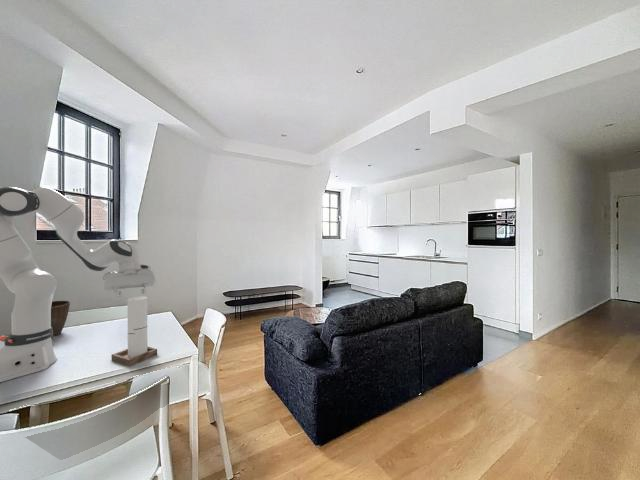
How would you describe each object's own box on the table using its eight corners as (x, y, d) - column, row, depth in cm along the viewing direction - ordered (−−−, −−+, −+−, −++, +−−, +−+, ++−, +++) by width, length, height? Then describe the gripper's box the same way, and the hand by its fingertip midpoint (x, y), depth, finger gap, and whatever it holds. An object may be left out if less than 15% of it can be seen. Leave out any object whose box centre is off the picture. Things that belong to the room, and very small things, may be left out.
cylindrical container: (146, 357, 118) (145, 299, 118) (126, 360, 116) (125, 301, 115) (148, 350, 125) (148, 295, 124) (129, 353, 122) (129, 297, 121)
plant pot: (41, 341, 135) (41, 309, 135) (23, 337, 140) (23, 306, 140) (76, 331, 149) (76, 302, 149) (59, 328, 154) (59, 299, 154)
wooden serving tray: (129, 366, 113) (129, 360, 112) (111, 360, 117) (111, 354, 117) (157, 354, 124) (157, 349, 123) (139, 349, 128) (139, 344, 128)
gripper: (102, 268, 128) (103, 293, 121) (153, 265, 141) (157, 287, 134) (102, 276, 132) (103, 301, 124) (152, 273, 145) (155, 295, 137)
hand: (131, 294), depth 129 cm, fingers open, 8 cm apart
